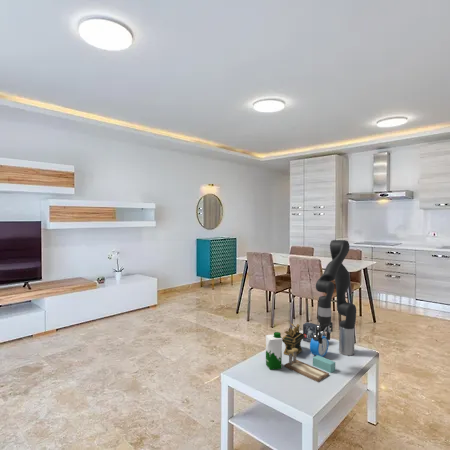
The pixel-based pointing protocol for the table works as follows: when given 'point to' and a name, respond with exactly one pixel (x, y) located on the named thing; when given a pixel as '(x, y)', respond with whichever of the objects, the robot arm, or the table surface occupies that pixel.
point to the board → (304, 367)
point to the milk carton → (274, 351)
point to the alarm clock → (319, 346)
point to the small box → (309, 331)
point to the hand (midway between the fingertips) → (324, 341)
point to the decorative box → (293, 339)
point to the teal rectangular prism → (324, 363)
